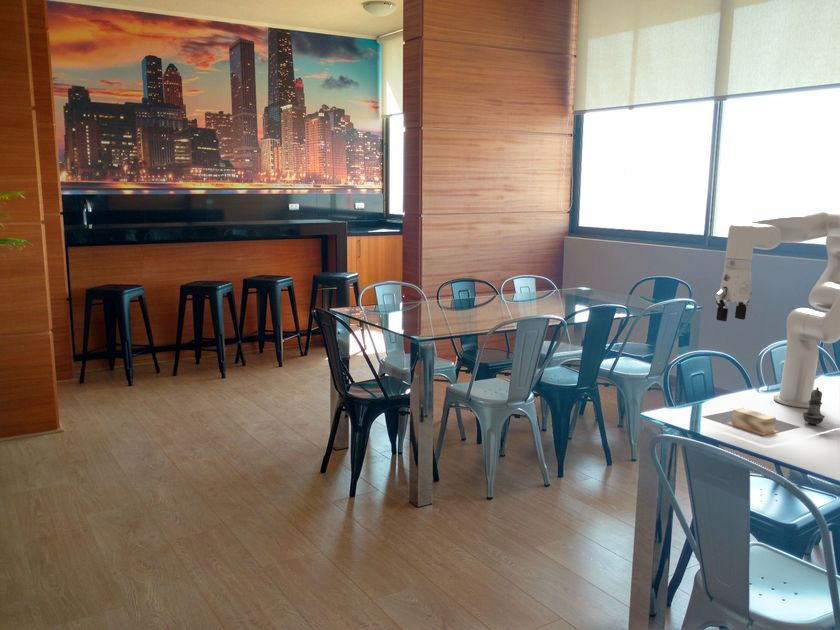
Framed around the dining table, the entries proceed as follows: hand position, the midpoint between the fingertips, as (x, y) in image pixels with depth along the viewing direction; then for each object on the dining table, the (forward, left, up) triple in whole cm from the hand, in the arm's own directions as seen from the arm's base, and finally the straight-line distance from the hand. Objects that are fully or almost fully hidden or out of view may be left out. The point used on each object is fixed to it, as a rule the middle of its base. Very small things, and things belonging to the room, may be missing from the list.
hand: (730, 319), depth 225 cm
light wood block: (+11, +18, -28) cm, 35 cm away
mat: (+7, +15, -28) cm, 33 cm away
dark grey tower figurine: (-9, +25, -28) cm, 39 cm away
